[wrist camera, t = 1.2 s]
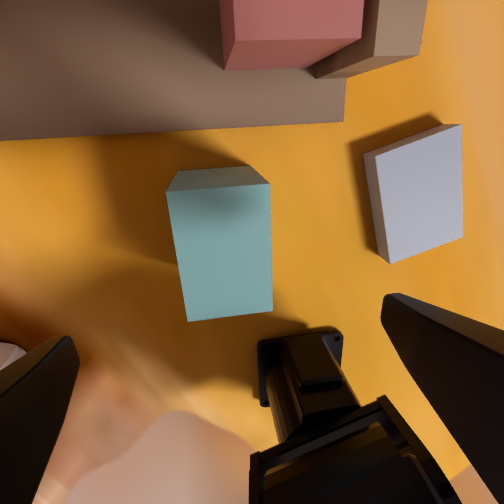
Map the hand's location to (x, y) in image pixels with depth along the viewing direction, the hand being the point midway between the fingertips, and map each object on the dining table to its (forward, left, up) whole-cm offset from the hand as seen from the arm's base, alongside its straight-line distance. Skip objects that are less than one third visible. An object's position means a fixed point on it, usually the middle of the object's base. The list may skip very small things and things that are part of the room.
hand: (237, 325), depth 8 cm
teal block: (0, 0, -10) cm, 10 cm away
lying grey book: (+1, -12, -10) cm, 16 cm away
